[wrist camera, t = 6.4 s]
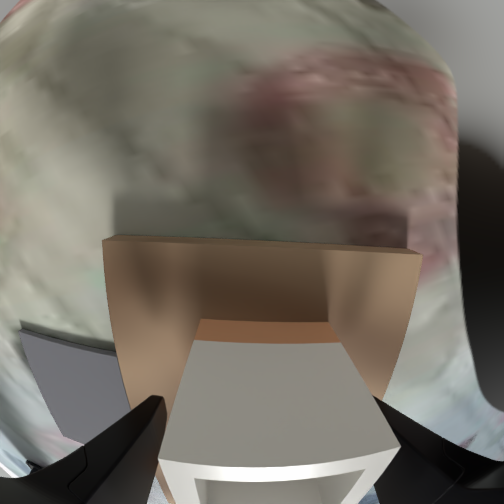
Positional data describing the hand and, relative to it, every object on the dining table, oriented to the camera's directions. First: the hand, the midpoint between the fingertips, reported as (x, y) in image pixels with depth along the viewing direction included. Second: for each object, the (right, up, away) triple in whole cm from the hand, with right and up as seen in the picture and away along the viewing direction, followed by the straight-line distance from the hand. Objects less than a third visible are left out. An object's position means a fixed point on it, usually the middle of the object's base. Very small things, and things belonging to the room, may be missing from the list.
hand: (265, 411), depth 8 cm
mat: (-10, -4, +4) cm, 12 cm away
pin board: (0, -4, +4) cm, 6 cm away
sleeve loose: (0, 0, +2) cm, 2 cm away
